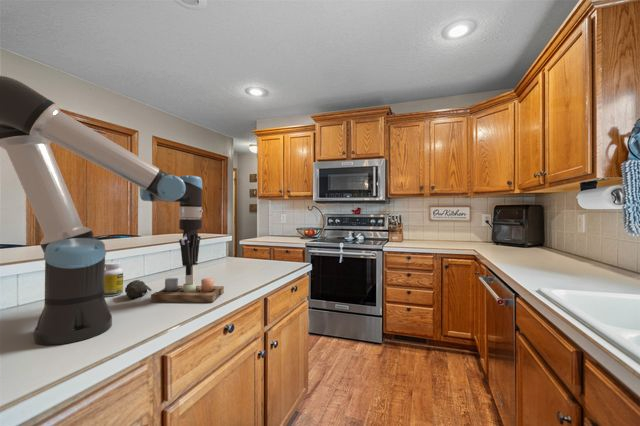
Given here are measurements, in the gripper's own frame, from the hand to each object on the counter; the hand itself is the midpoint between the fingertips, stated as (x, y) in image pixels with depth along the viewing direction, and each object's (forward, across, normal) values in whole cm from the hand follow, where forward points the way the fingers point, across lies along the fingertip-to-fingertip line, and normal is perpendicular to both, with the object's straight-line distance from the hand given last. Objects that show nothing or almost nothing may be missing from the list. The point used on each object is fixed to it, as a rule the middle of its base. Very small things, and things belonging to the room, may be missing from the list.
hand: (190, 283), depth 103 cm
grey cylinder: (+3, 0, +7) cm, 7 cm away
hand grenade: (+5, +1, +19) cm, 20 cm away
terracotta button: (+3, 0, -6) cm, 7 cm away
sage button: (+4, 0, 0) cm, 4 cm away
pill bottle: (+5, +2, +29) cm, 30 cm away
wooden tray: (+5, 0, 0) cm, 5 cm away
